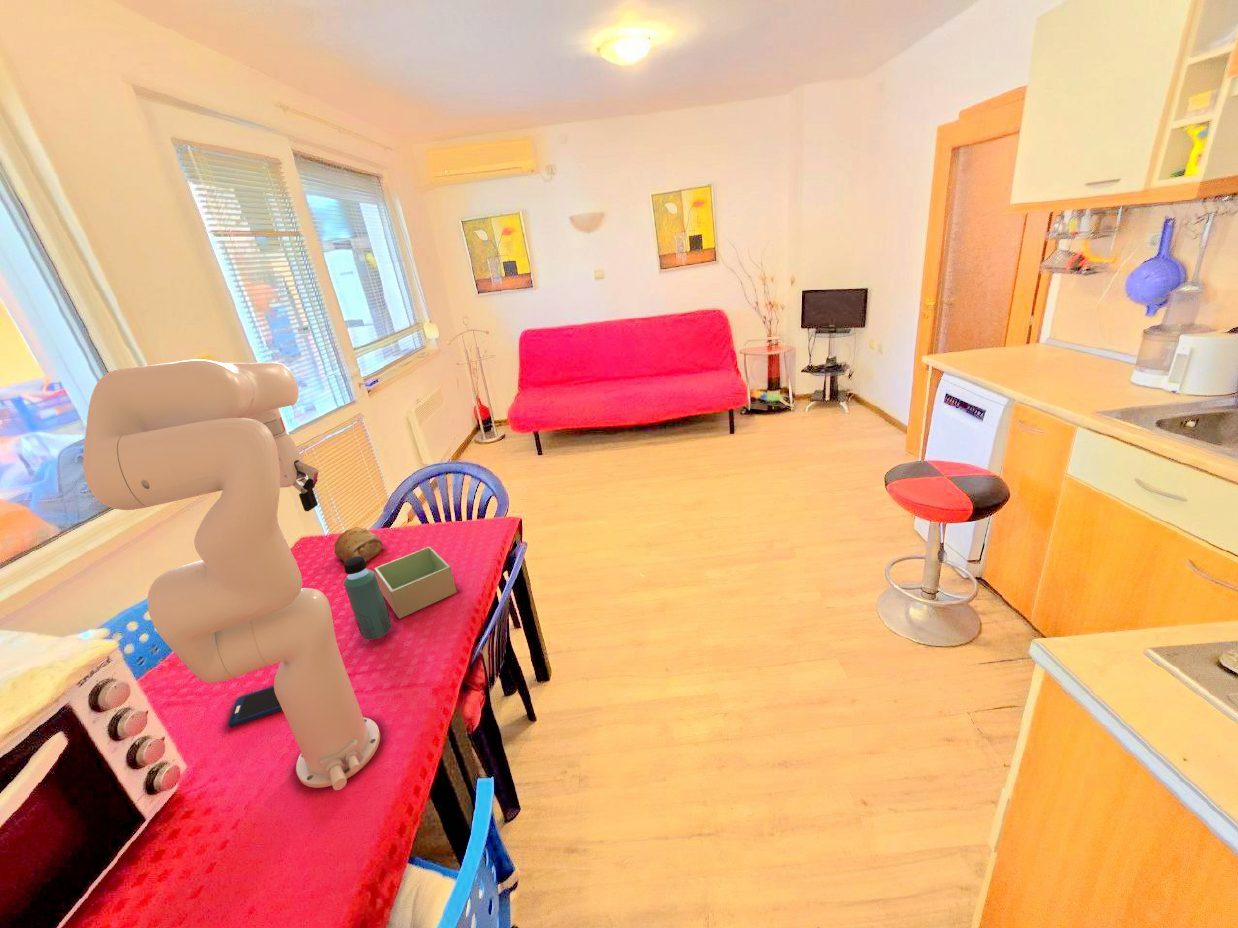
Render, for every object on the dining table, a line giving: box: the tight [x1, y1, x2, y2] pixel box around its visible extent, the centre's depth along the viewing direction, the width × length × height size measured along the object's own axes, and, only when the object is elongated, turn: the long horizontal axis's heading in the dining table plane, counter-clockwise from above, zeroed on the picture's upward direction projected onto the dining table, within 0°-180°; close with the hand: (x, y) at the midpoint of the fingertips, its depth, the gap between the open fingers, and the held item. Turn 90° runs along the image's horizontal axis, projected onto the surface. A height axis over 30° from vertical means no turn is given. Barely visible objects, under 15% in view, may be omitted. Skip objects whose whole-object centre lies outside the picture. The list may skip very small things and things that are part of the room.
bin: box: [374, 546, 457, 620], centre depth 126 cm, size 14×14×8 cm
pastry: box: [333, 526, 383, 563], centre depth 147 cm, size 14×12×8 cm
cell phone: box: [227, 685, 283, 728], centre depth 97 cm, size 7×14×1 cm, turn 114°
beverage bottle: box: [343, 556, 393, 641], centre depth 109 cm, size 6×7×20 cm
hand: (290, 508), depth 104 cm, fingers open, 9 cm apart
